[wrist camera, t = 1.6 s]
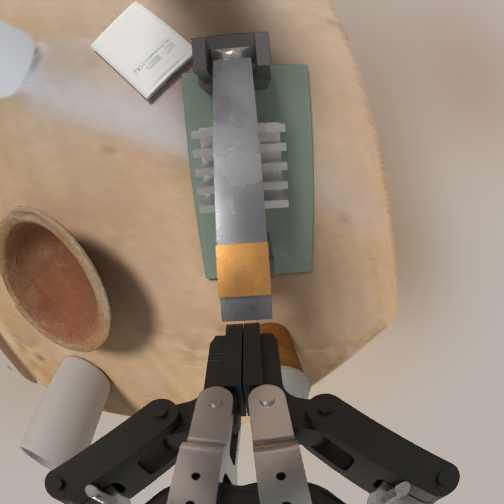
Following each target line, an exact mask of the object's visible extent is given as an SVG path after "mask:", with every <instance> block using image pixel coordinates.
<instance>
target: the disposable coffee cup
mask: <svg viewBox="0 0 504 504" xmlns="http://www.w3.org/2000/svg"><path fill="white" fill-rule="evenodd" d="M262 333H272V334H273V335H274V337H275V338H276V339H277V342H278V350H279V358H280V366H281V374H282V382H283V386H284V388H285V390H286V391H287V392H288V393H289V394H290V395H292V396H295V397H298V398H303V399H307V398H308V393H309V391H310V387H311V384H310V381H309V379H308V378H307V377H306V376H305V374H304V373H303V370H302V367H301V365H300V362H299V360H298V357H297V354H296V351H295V349H294V346H293V343H292V341H291V338H290V335H289V332H288V330H287V329H286V328H285V327H284V326H282V325H280V324H277V323H265V324H261V325H260V334H262ZM246 408H247V407H246Z"/></svg>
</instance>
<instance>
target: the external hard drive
mask: <svg viewBox="0 0 504 504" xmlns="http://www.w3.org/2000/svg"><path fill="white" fill-rule="evenodd" d="M91 48H92V49H94V50H95V51H96V52H97V53H98V54H99V55H100V56H101V57H102V58H103V59H104V60H106V61H107V62H108V63H109V64H110V65H111V66H112V67H113V68H114V69H115V70H116V71H117V72H118V73H120V74H121V75H122V76H123V77H124V78H125V79H126V80H127V81H128V82H129V83H130V84H131V85H132V86H133V87H134V88H135V89H136V90H137V91H139V92H140V93H141V94H142V95H143V96H144V97H145V98H146V99H148V100H149V99H150V98H151V97H152V96H153V95H154V94H155V93H156V92H157V91H158V90H159V89H160V88H161V87H162V86H163V85H164V84H165V83H166V82H167V81H168V80H169V78H170V77H171V76H172V75H173V74H174V73H175V72H177V71H179V70H180V69H181V68H182V67H183V66H184V65H185V64H186V63H188V62H189V61H190V60H191V59H192V45H191V44H190V43H189V42H187V41H186V40H185V39H184V38H183V37H181V36H180V35H179V34H178V33H177V32H176V31H174V30H173V29H172V28H171V27H169V26H168V25H167V24H166V23H164V22H163V21H162V20H161V19H159V18H158V17H157V16H155V15H154V14H153V13H152V12H150V11H149V10H148V9H146V8H145V7H143V6H142V5H141V4H139V3H138V2H134V3H133V4H132V5H130V6H129V7H128V8H127V9H126V10H125V11H124V12H123V13H122V14H121V15H120V16H119V17H118V18H116V19H115V20H114V21H113V22H112V23H111V24H110V25H109V26H108V27H107V28H106V29H105V30H104V32H103V33H102V34H101V35H100V36H99V37H98V38H97V39H96V40H95V41H94V42H93V44H92V45H91Z"/></svg>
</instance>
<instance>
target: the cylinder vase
mask: <svg viewBox="0 0 504 504" xmlns="http://www.w3.org/2000/svg"><path fill="white" fill-rule="evenodd" d="M110 389H111V385H110V382H109V380H108V378H107V377H106V375H105V374H104V373H103V372H102V371H101V370H100V369H99V368H97V367H96V366H95V365H93V364H92V363H90V362H88V361H86V360H84V359H82V358H79V357H73V356H71V357H66V358H65V359H64V360H63V361H62V363H61V365H60V366H59V368H58V370H57V372H56V373H55V375H54V377H53V379H52V381H51V383H50V384H49V386H48V388H47V390H46V392H45V394H44V396H43V398H42V400H41V402H40V404H39V406H38V407H37V409H36V412H35V414H34V416H33V418H32V420H31V422H30V424H29V426H28V429H27V431H26V433H25V435H24V438H23V440H22V442H21V445H20V448H21V449H22V450H23V451H24V452H25V453H26V454H27V455H29V456H30V457H31V458H33V459H34V460H36V461H37V462H38V463H40V464H42V465H43V466H45V467H47V468H48V469H50V470H53V469H55V468H56V467H58V466H60V465H61V464H63V463H64V462H66V461H68V460H69V459H71V458H72V457H74V456H75V455H77V454H78V453H80V452H81V451H83V450H84V449H86V448H87V447H89V446H90V444H91V442H92V439H93V436H94V433H95V430H96V427H97V424H98V422H99V419H100V416H101V413H102V411H103V408H104V405H105V403H106V400H107V397H108V395H109V392H110Z"/></svg>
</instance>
